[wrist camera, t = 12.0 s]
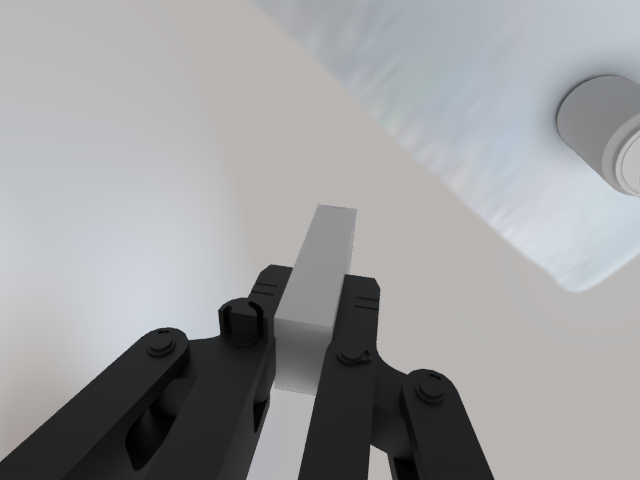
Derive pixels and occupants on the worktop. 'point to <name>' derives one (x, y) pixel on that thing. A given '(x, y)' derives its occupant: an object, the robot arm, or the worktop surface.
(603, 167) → the beverage can
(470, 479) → the robot arm
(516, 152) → the worktop surface
